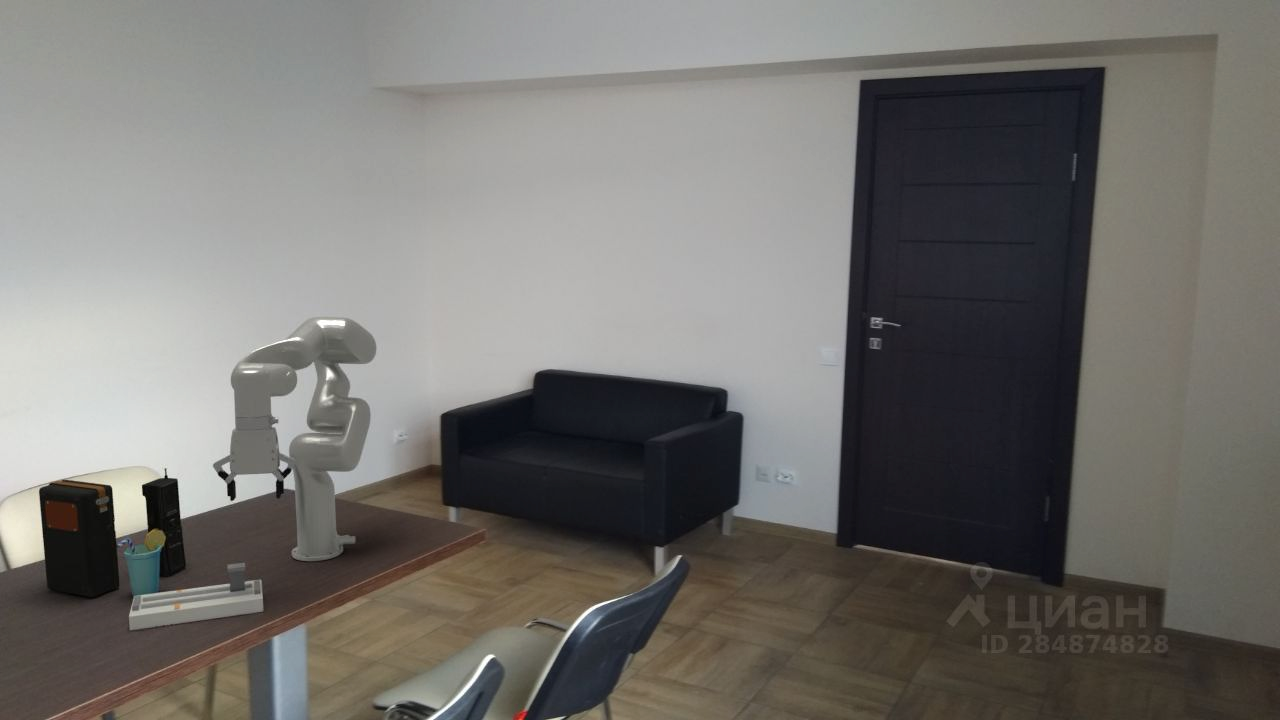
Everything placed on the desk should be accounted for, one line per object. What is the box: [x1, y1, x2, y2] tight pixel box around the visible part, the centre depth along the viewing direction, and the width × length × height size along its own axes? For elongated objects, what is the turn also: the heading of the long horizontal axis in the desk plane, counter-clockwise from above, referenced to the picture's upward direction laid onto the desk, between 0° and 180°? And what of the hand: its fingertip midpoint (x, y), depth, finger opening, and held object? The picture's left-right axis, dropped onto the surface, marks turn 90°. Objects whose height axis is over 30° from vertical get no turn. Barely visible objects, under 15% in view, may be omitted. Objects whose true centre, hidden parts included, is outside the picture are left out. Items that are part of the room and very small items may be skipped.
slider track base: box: [128, 579, 264, 631], centre depth 209 cm, size 26×12×4 cm, turn 113°
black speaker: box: [38, 479, 121, 598], centre depth 218 cm, size 16×9×25 cm, turn 71°
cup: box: [116, 529, 166, 598], centre depth 216 cm, size 14×8×15 cm, turn 171°
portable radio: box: [141, 468, 187, 577], centre depth 229 cm, size 8×6×25 cm
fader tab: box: [227, 562, 246, 592], centre depth 211 cm, size 4×3×6 cm
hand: (256, 498), depth 214 cm, fingers open, 9 cm apart
